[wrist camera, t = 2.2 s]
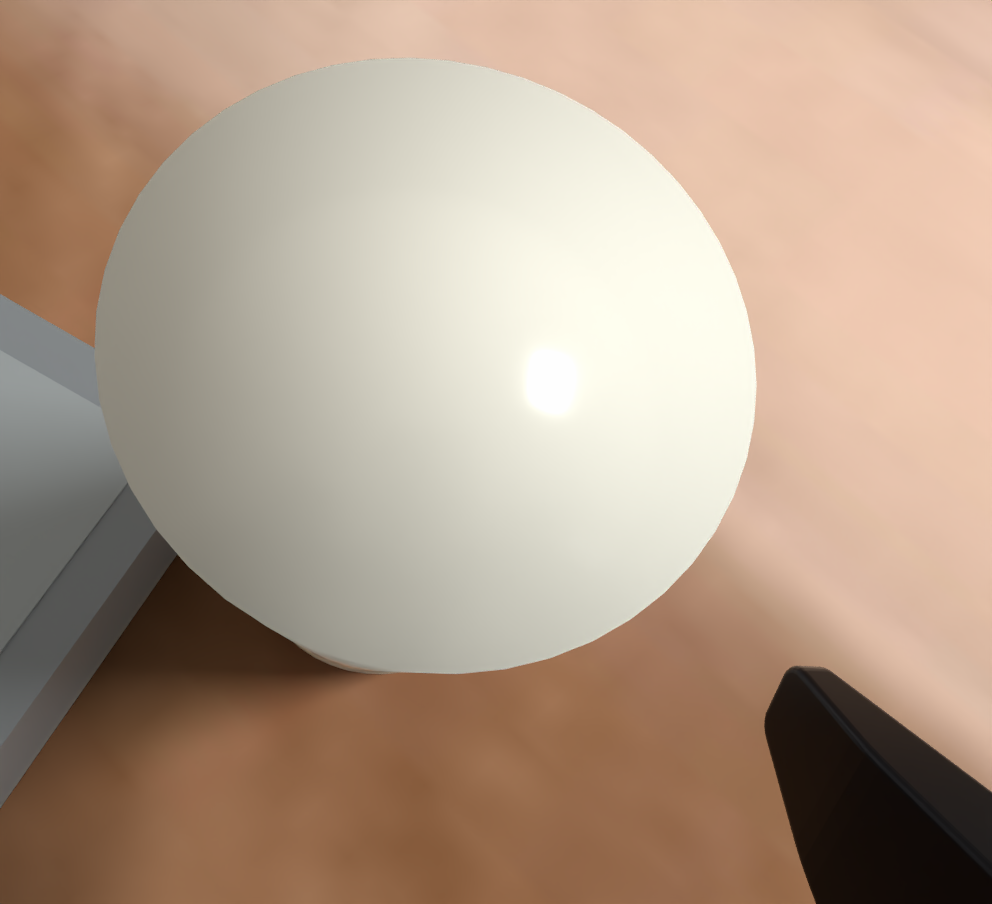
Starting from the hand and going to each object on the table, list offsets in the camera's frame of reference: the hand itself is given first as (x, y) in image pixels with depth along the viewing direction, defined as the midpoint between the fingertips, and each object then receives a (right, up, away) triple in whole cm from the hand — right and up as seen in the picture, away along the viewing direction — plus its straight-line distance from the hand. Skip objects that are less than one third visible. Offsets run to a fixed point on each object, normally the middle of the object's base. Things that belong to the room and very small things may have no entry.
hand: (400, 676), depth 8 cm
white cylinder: (-2, 0, +10) cm, 10 cm away
